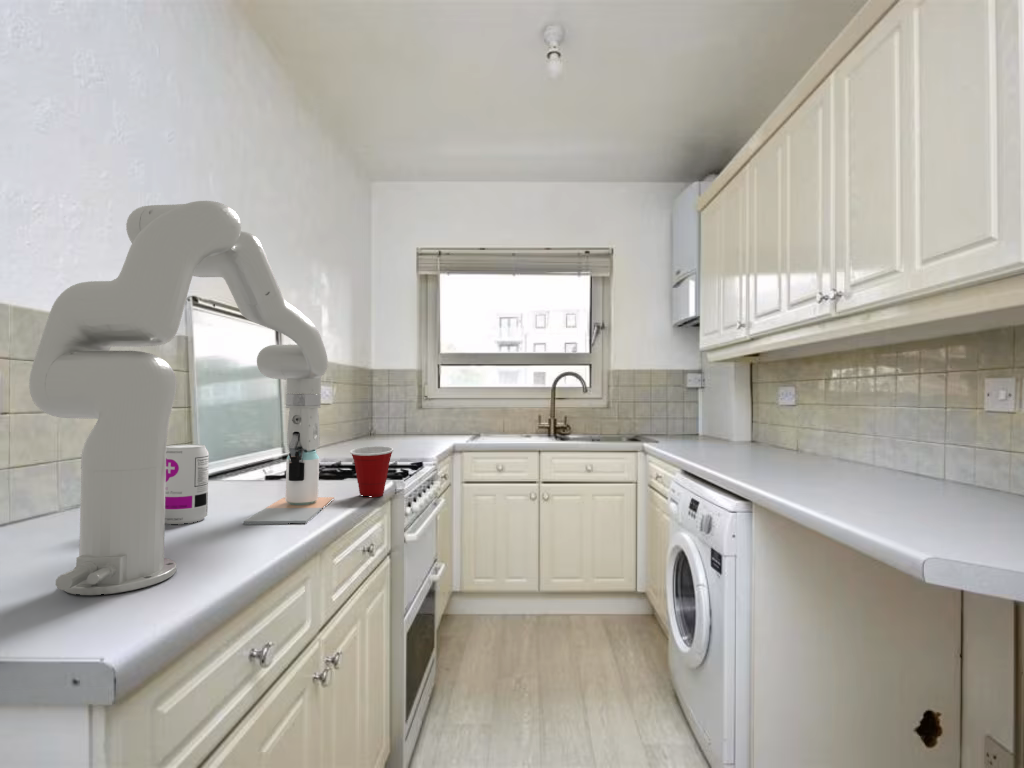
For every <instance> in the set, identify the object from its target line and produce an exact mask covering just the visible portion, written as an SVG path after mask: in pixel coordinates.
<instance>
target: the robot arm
mask: <svg viewBox="0 0 1024 768" xmlns="http://www.w3.org/2000/svg"><path fill="white" fill-rule="evenodd" d="M125 223H126V224H125V225H126V234H127V237H128V238H129V241H130V243H131V245H130V247H129V250H128V252H127V254H126V257H125V259H124V260H125V261H124V263H123V264H122V265H123V266H122V268H121V270H120V272H119V274H118V276H117V277H116V278H114V279H112V280H105V281H104V280H98V281H97V280H95V281H93V280H91V281H84V282H79V283H75V284H73V285H71V286H68V287H67V288H66V289H65V290H64V291H62V292H61V293H60V294H59V295H58V296H57V298H56V299H55V300H54V303H53V304H52V306H51V309H50V311H49V314H48V317H47V319H46V322H45V326H44V329H43V331H42V335H41V338H40V340H39V344H38V347H37V349H36V353H35V356H34V359H33V363H32V365H31V369H30V373H29V381H28V382H29V383H28V387H29V388H28V389H29V395H30V398H31V399H32V401H33V403H34V404H35V406H36V407H37V408H38V409H39V410H41V411H42V412H43V413H45V414H47V415H49V416H52V417H56V418H60V419H61V418H63V419H79V420H80V419H82V420H84V419H88V420H93V419H94V420H95V419H96V420H97V421H96V423H95V425H94V426H93V429H92V430H91V431H90V432H89V435H88V436H87V438H86V440H85V443H84V446H83V449H82V452H81V460H80V461H81V464H80V469H81V474H80V475H81V477H80V508H79V509H80V514H79V515H80V517H79V547H78V548H79V551H78V553H79V554H78V556H77V557H76V559H75V560H76V563H75V567H74V568H73V569H71V570H69V571H67V572H64V573H63V574H60V575H59V576H57V578H56V579H55V586H56V588H57V589H59V590H60V591H65V592H66V593H68V594H71V595H76V594H80V595H79V596H100V595H101V594H104V595H112V594H119V593H125V592H131V591H135V590H139V589H143V588H146V587H151V586H153V585H156V584H159V583H162V582H164V581H166V580H168V579H169V578H171V577H173V576H174V575H175V574H176V573H177V562H175V560H173V559H171V558H165V529H166V528H165V527H166V526H165V525H166V524H165V490H166V446H168V444H167V442H168V430H169V423H170V418H171V415H172V414H171V413H172V410H173V406H174V402H175V399H176V394H177V393H176V392H177V377H176V374H175V372H174V369H173V368H172V367H171V365H170V363H168V362H167V361H166V360H165V359H163V358H162V357H160V356H158V355H156V354H154V353H150V352H145V351H139V350H110V349H111V347H126V348H129V347H131V348H132V347H157V346H161V345H165V344H168V343H169V342H171V341H172V340H173V339H174V338H175V336H176V334H177V332H178V330H179V327H180V324H181V321H182V317H183V313H184V310H185V309H184V308H185V305H186V302H187V298H188V293H189V290H190V285H191V282H192V279H193V277H197V278H223V280H224V281H225V283H226V285H227V287H228V289H229V291H230V293H231V295H232V297H233V299H234V302H235V303H236V306H237V308H238V310H239V313H240V315H241V316H243V317H244V318H245V319H246V320H248V321H250V322H253V323H254V324H257V325H260V326H262V327H265V328H267V329H270V330H272V331H276V332H278V333H280V334H282V335H284V336H286V337H287V338H290V340H291V341H293V342H294V343H295V344H270V345H267V346H265V347H263V348H262V349H260V351H259V352H258V354H257V357H256V367H257V368H258V370H259V372H260V373H261V374H262V375H263V376H265V377H267V378H268V379H273V380H286V384H285V385H286V387H285V388H286V389H285V391H286V392H285V394H286V396H285V408H286V409H288V419H287V421H288V422H287V435H286V436H287V437H286V438H287V439H286V442H287V450H288V452H289V453H288V455H289V456H290V457H289V481H303V480H304V463H303V458H304V453H305V449H306V450H307V452H310V451H313V450H317V449H319V447H320V446H321V445H320V415H319V409H321V407H322V406H321V404H322V403H321V402H322V401H321V399H322V396H321V395H322V394H321V393H322V376H324V375H325V374H326V371H327V369H328V367H329V366H328V363H329V360H328V355H327V350H326V348H325V344H324V342H323V339H322V336H321V333H320V332H319V329H318V328H317V326H316V325H315V324H314V323H313V322H312V320H310V318H308V317H307V316H306V315H305V314H303V313H302V312H301V311H300V310H299V309H297V308H296V307H295V306H293V305H292V304H290V303H289V302H287V300H286V299H285V297H284V296H283V293H282V292H281V289H280V285H279V284H278V281H277V279H276V277H275V274H274V271H273V268H272V266H271V264H270V260H268V257H267V253H266V251H265V249H264V247H263V245H262V243H261V241H260V240H259V239H258V237H256V236H255V235H254V234H252V233H250V232H247V231H242V223H241V219H240V216H239V215H238V214H237V213H236V211H235V210H233V208H231V207H230V206H228V205H226V204H224V203H221V202H218V201H213V200H197V201H191V202H188V203H180V204H179V203H178V204H152V205H143V206H140V207H137V208H136V209H134V210H132V212H131V213H130V214H129V215H128V217H127V219H126V222H125ZM299 453H300V456H299ZM101 596H102V595H101Z"/></svg>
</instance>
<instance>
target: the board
mask: <svg viewBox="0 0 1024 768" xmlns="http://www.w3.org/2000/svg"><path fill="white" fill-rule="evenodd" d="M332 499H334V500H335V496H327V497H326V496H325V497H322V496H318V500H317V501H315V502H314V503H312V504H307V505H291V504H289V503H288V502H286V501H285V497H282V498H281V499H278V500H277V501H275V502H273V503H272V504H270V505H268V506H267V507H265V508H263V509H261V510H260V511H258V512H257V513H255V514H254V515H252V516H250V517H248V518H247V519H245V520H243V521H242V522H243V523H242V524H243V525H289V524H290V523H306V524H308V523H309V522H310V521H311V520H312V519H313V518H315V517H316V516H317V515H318V514H319V513H320V512H321V511H320V510H321V509H322V508H323V507H324V506H326V505H327V504H328V503H329V502H330V501H331V500H332ZM327 506H328V505H327ZM327 506H326V507H327ZM319 511H320V512H319ZM318 512H319V513H318ZM317 513H318V514H317ZM316 514H317V515H316ZM315 515H316V516H315ZM314 516H315V517H314ZM312 517H313V518H312ZM311 518H312V519H311ZM310 519H311V520H310ZM309 520H310V521H309ZM308 521H309V522H308ZM307 522H308V523H307ZM288 523H289V524H288ZM290 525H291V524H290Z"/></svg>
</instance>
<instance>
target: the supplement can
mask: <svg viewBox="0 0 1024 768" xmlns="http://www.w3.org/2000/svg"><path fill="white" fill-rule="evenodd" d="M209 454H210V453H209V450H208V449H207V448H206V445H205V444H198V443H196V444H192V443H191V444H174V445H173V444H172V445H167V446H166V490H165V525H171V524H178V525H185V524H184V523H188V524H194V523H198V522H201V521H203V520H204V519H205V518H206V517H207V516H208V502H209V466H210V465H209V464H210V463H209V462H210V455H209ZM197 521H198V522H197ZM193 522H194V523H193Z"/></svg>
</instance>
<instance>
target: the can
mask: <svg viewBox="0 0 1024 768" xmlns="http://www.w3.org/2000/svg"><path fill="white" fill-rule="evenodd" d="M299 456H300V453H299ZM289 457H290V456H289V454H288V455H287V457H286V461H285V462H286V466H285V497H284V498H285V501H286V502H288V503H289V504H291V505H307V504H312V503H314V502H315V501H317V500H318V497H319V479H320V478H319V477H320V474H319V473H320V456H319V455H318V453H317V449H315V450H313V451H310V452H307V450H306V449H305V453H304V458H303V463H304V480H303V481H289Z"/></svg>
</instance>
